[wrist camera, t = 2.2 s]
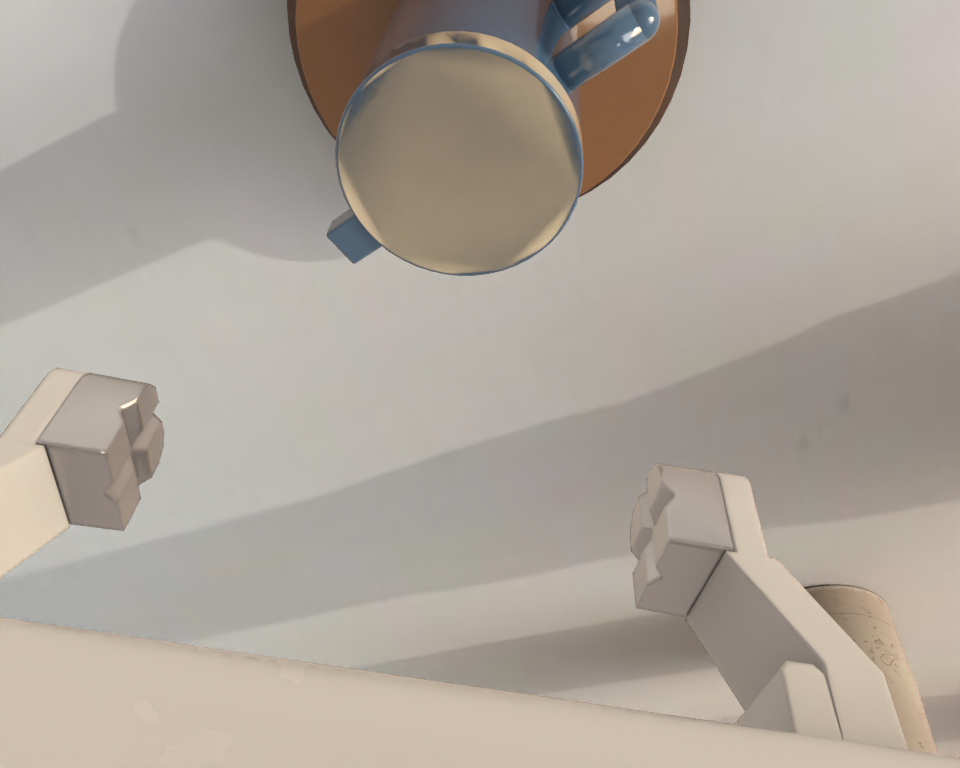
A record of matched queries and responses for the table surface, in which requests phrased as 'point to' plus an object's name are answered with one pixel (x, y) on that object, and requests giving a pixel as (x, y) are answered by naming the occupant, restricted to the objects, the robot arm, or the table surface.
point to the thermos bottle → (880, 653)
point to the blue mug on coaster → (478, 116)
